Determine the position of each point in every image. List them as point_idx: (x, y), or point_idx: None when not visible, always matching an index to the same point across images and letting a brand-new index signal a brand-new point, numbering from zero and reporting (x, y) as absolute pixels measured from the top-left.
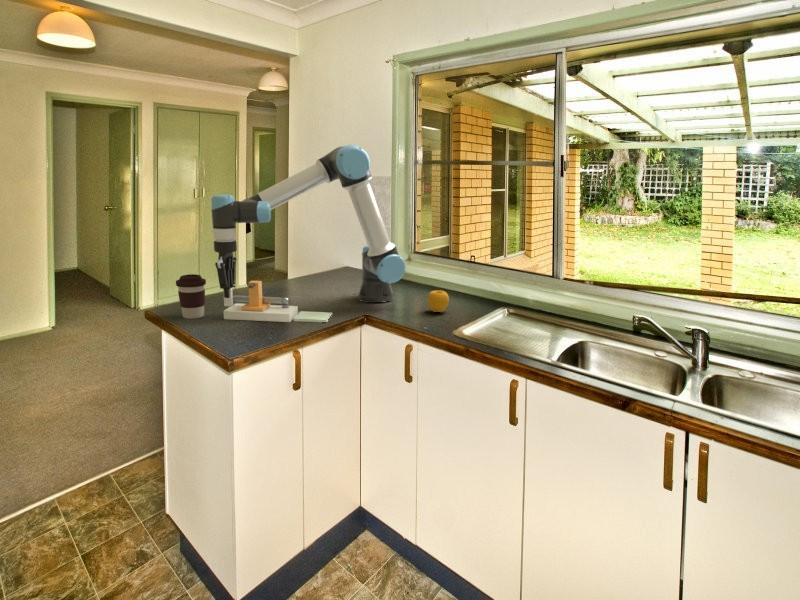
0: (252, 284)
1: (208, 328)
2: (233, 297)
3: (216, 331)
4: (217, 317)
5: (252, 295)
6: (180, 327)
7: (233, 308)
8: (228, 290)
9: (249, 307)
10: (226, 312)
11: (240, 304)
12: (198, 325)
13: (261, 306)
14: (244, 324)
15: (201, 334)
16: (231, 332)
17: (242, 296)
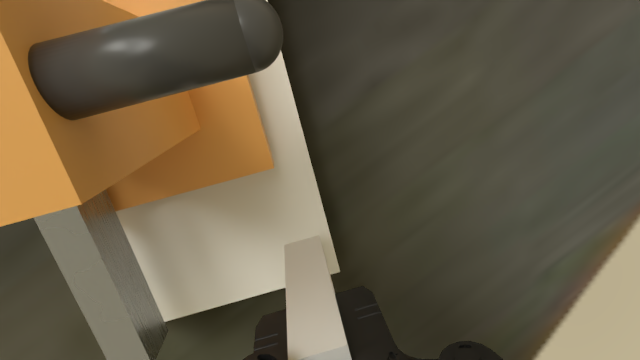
0: (142, 33)
1: (526, 197)
2: (153, 353)
3: (568, 117)
4: None
5: (153, 100)
6: (545, 331)
7: (248, 255)
8: (368, 344)
9: (248, 94)
10: (332, 247)
11: None
12: (491, 281)
13: (156, 3)
14: (386, 44)
15: (633, 157)
16: (567, 14)
17: (104, 288)
